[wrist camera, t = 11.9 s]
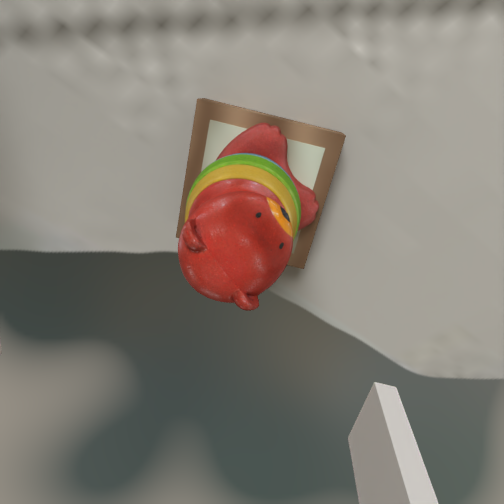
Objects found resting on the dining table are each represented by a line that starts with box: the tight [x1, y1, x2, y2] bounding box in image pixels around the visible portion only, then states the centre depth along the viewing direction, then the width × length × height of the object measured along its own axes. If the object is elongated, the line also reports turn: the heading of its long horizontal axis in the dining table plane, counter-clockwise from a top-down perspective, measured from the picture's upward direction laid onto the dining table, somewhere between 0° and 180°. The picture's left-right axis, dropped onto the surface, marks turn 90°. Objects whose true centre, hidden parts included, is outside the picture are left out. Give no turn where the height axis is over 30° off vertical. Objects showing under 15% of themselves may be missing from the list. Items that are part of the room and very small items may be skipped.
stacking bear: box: [178, 123, 319, 310], centre depth 29 cm, size 11×10×18 cm
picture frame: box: [176, 98, 346, 269], centre depth 38 cm, size 14×14×3 cm
